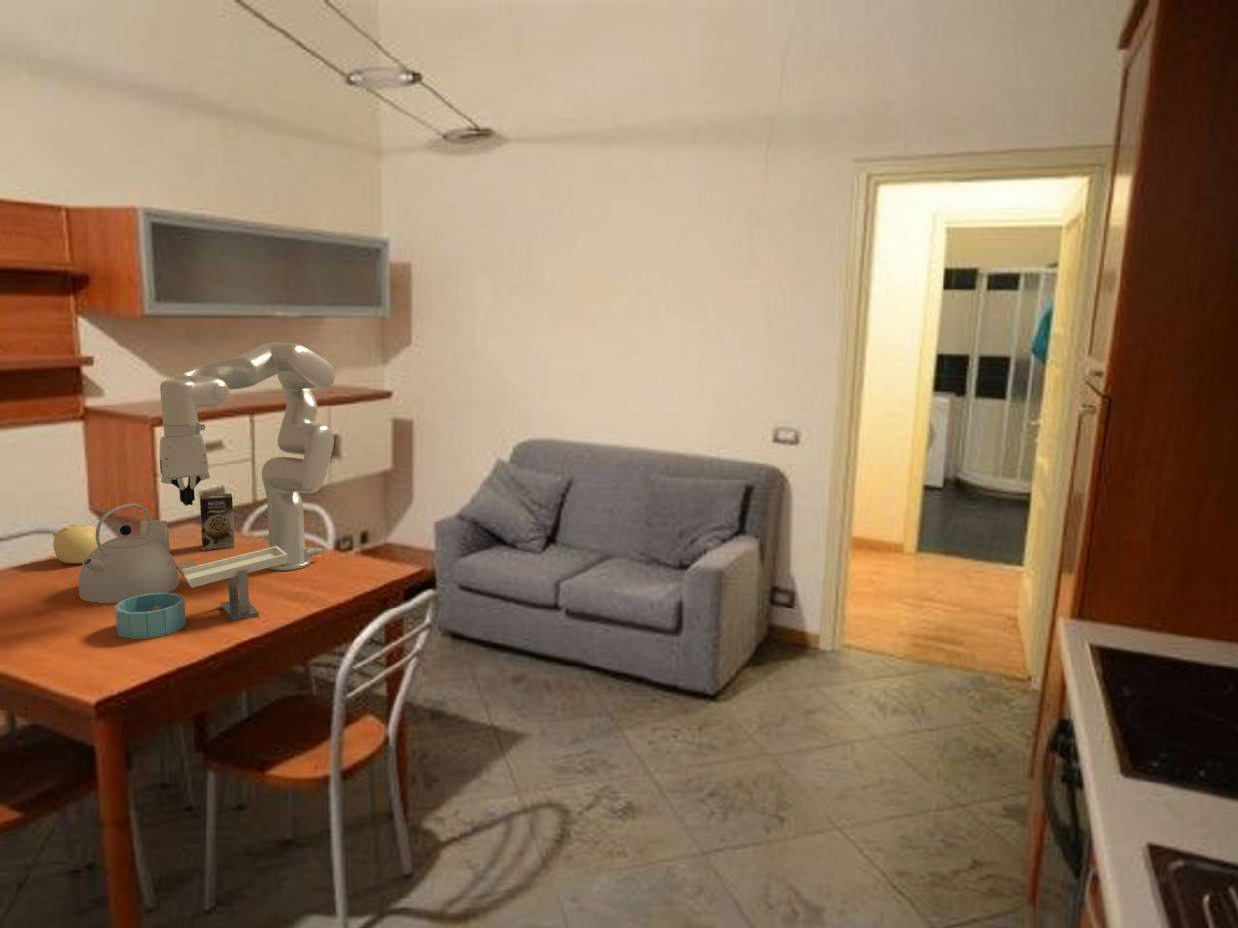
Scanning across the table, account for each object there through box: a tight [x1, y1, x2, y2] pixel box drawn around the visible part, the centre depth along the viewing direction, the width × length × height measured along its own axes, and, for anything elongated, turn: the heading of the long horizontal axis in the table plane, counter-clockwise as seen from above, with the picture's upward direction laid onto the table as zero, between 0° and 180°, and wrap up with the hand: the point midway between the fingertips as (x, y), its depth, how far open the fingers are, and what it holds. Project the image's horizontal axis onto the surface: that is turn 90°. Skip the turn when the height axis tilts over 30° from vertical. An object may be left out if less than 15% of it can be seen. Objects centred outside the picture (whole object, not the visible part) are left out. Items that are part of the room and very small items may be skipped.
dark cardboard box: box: [199, 493, 236, 551], centre depth 256 cm, size 9×6×16 cm
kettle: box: [78, 503, 180, 604], centre depth 215 cm, size 25×23×22 cm
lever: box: [175, 546, 288, 588], centre depth 205 cm, size 22×18×3 cm
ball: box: [149, 606, 164, 611], centre depth 192 cm, size 4×4×4 cm
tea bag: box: [139, 519, 171, 553], centre depth 247 cm, size 4×7×10 cm, turn 105°
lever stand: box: [219, 571, 260, 622], centre depth 202 cm, size 6×12×12 cm, turn 38°
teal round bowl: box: [114, 592, 187, 640], centre depth 191 cm, size 14×14×6 cm
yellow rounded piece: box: [52, 523, 103, 564], centre depth 238 cm, size 11×12×11 cm
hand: (187, 504), depth 205 cm, fingers closed
